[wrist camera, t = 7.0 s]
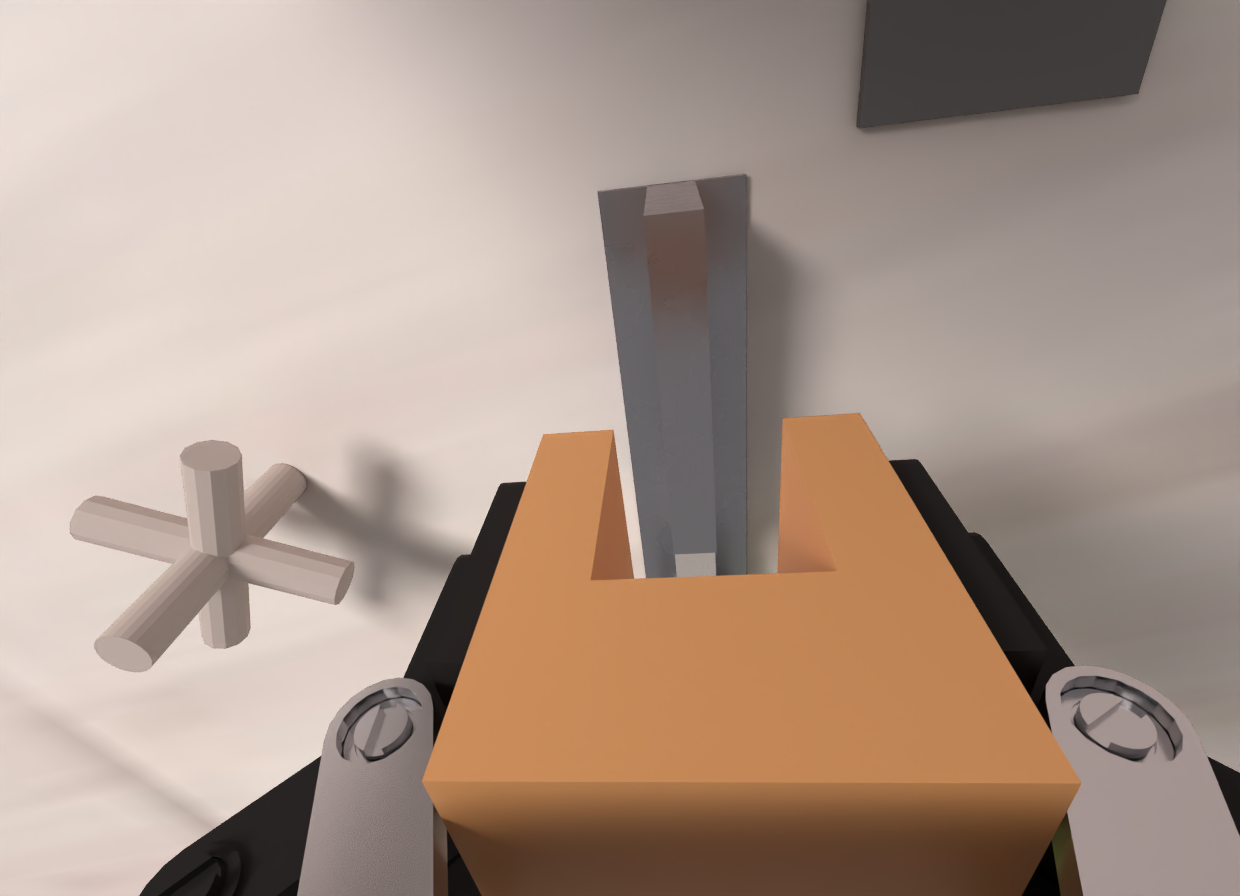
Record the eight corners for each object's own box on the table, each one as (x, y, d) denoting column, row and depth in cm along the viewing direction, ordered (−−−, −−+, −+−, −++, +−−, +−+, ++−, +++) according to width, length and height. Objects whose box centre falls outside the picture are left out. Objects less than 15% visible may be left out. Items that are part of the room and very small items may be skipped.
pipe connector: (402, 424, 26) (275, 593, 17) (382, 577, 31) (278, 765, 22) (166, 355, 24) (-94, 499, 16) (187, 527, 30) (0, 704, 21)
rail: (598, 191, 20) (566, 246, 13) (745, 174, 20) (790, 223, 13) (653, 632, 32) (651, 781, 25) (746, 629, 31) (769, 780, 25)
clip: (543, 434, 11) (421, 781, 5) (859, 413, 10) (1081, 783, 5) (576, 591, 13) (513, 954, 7) (840, 582, 12) (979, 972, 7)
